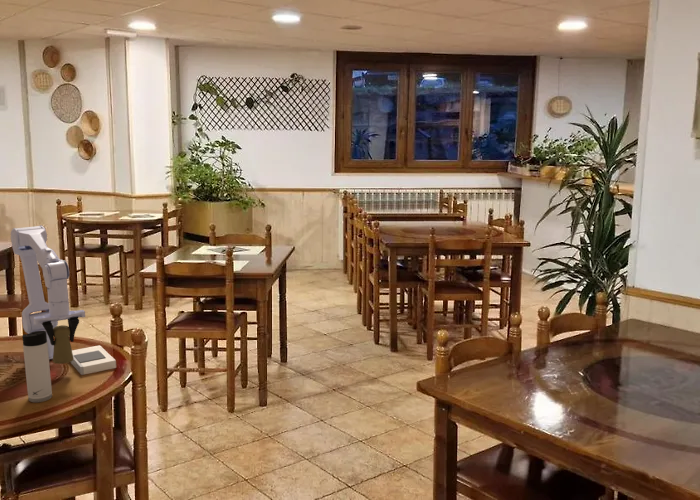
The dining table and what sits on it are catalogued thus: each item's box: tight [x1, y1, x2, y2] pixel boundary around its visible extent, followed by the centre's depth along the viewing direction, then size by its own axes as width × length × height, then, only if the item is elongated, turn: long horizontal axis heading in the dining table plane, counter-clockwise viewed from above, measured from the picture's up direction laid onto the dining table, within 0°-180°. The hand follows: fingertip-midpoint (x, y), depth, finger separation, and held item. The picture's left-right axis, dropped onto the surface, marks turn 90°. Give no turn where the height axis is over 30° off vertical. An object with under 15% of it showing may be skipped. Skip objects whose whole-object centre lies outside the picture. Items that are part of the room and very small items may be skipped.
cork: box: [52, 324, 74, 365], centre depth 213 cm, size 6×6×11 cm
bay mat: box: [74, 350, 106, 363], centre depth 223 cm, size 8×8×1 cm
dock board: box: [70, 345, 117, 376], centre depth 225 cm, size 18×11×3 cm, turn 35°
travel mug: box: [22, 331, 53, 403], centre depth 195 cm, size 6×7×20 cm
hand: (62, 342), depth 213 cm, fingers closed on cork, 5 cm apart
